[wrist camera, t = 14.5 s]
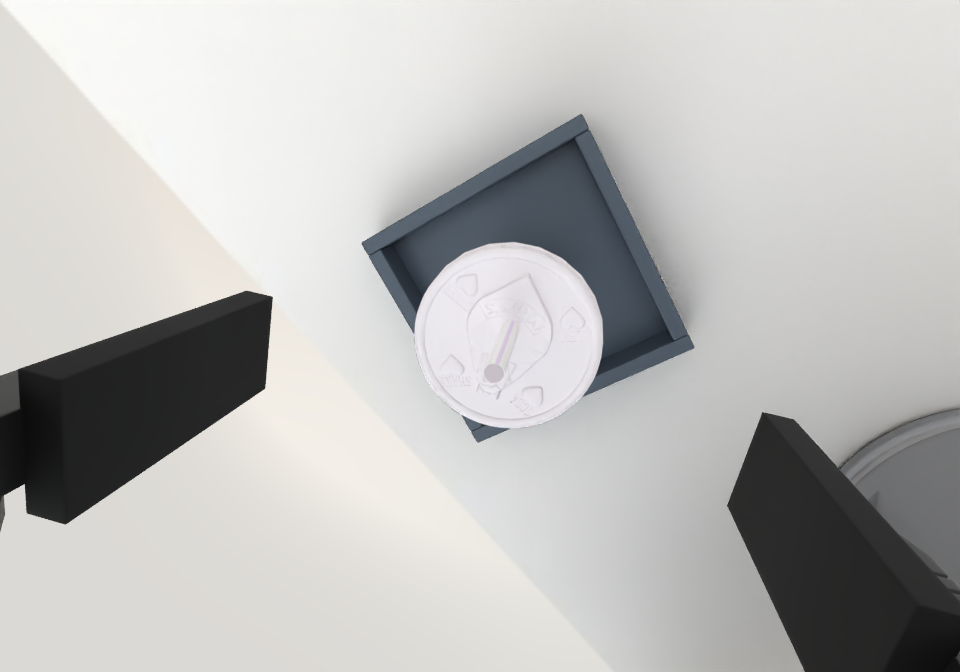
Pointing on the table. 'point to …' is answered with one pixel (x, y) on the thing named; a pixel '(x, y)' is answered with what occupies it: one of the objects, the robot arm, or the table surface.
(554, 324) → the smoothie
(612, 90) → the table surface
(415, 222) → the tray
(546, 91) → the table surface
